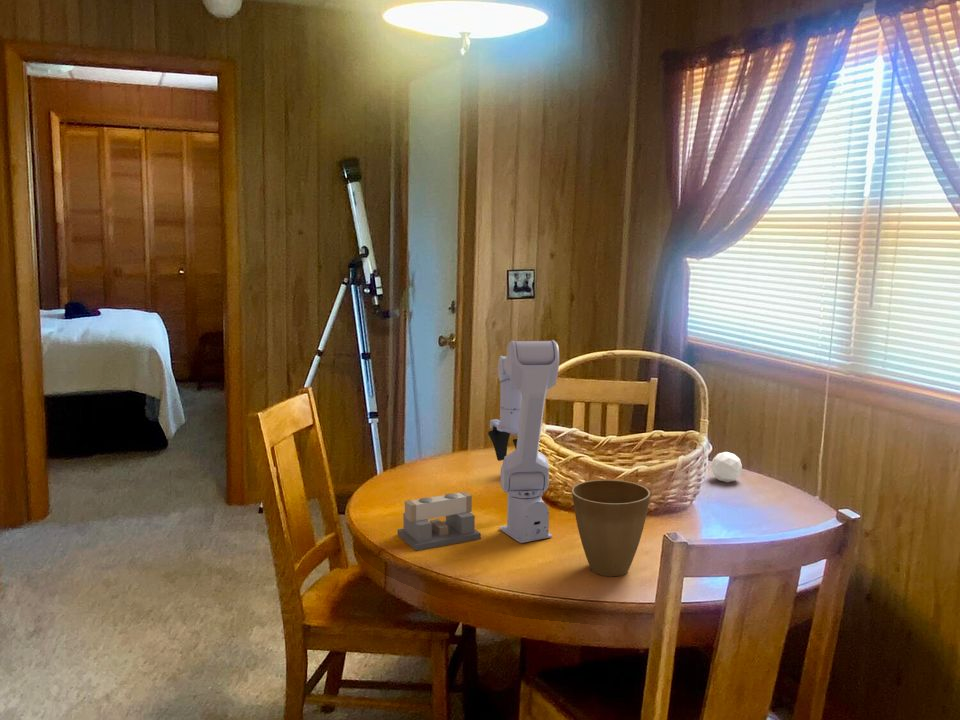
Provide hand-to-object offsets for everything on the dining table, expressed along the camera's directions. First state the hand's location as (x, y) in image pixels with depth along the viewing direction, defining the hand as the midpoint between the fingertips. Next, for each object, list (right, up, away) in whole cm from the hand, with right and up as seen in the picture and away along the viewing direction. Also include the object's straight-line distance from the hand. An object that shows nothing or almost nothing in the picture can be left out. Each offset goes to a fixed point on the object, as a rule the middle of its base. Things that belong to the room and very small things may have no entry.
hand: (511, 463), depth 201 cm
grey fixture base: (-16, -14, -18) cm, 28 cm away
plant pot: (+18, -17, -34) cm, 41 cm away
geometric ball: (+57, -7, +22) cm, 61 cm away
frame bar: (-16, -9, -19) cm, 26 cm away
